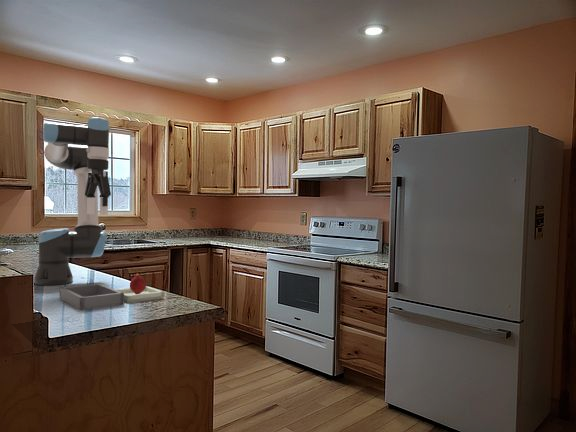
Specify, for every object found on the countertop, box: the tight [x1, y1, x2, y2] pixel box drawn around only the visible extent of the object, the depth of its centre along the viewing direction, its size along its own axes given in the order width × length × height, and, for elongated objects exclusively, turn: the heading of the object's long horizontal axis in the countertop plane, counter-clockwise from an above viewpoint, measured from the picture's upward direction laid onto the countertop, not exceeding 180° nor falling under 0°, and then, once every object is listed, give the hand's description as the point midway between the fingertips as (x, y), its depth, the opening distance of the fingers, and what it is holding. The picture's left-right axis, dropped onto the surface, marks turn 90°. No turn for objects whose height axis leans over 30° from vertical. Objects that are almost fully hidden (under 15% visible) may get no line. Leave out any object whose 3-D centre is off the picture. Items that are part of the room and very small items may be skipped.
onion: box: [129, 273, 147, 294], centre depth 168 cm, size 6×6×8 cm
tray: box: [116, 285, 165, 304], centre depth 168 cm, size 14×14×2 cm
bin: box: [59, 283, 125, 311], centre depth 159 cm, size 22×14×4 cm, turn 43°
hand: (96, 214), depth 171 cm, fingers open, 13 cm apart
